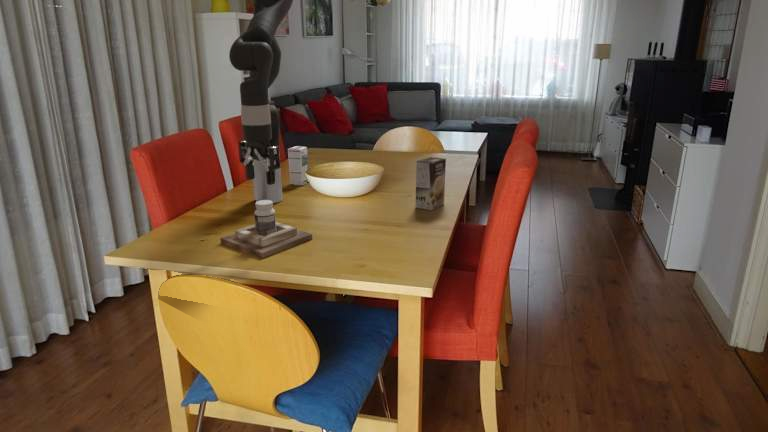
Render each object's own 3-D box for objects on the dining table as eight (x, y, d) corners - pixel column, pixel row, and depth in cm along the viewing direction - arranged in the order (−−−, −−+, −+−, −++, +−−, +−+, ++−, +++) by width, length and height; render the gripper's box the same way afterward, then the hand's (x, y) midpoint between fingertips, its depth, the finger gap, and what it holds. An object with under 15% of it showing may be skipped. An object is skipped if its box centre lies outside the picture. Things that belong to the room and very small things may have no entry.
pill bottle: (257, 232, 151) (254, 199, 148) (278, 232, 152) (275, 198, 148) (254, 239, 146) (251, 205, 143) (275, 239, 146) (273, 204, 143)
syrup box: (303, 185, 206) (301, 149, 202) (289, 184, 208) (287, 148, 204) (309, 182, 212) (307, 146, 207) (296, 181, 213) (294, 145, 209)
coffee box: (431, 211, 175) (432, 163, 170) (414, 207, 178) (415, 161, 173) (444, 204, 182) (446, 158, 177) (428, 201, 186) (429, 156, 180)
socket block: (220, 243, 148) (219, 231, 147) (270, 226, 161) (270, 215, 160) (262, 258, 137) (261, 245, 136) (312, 238, 150) (311, 227, 149)
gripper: (285, 122, 137) (288, 183, 142) (250, 117, 145) (255, 174, 151) (262, 126, 131) (266, 189, 137) (227, 120, 140) (233, 180, 145)
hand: (260, 181), depth 144 cm, fingers open, 8 cm apart
